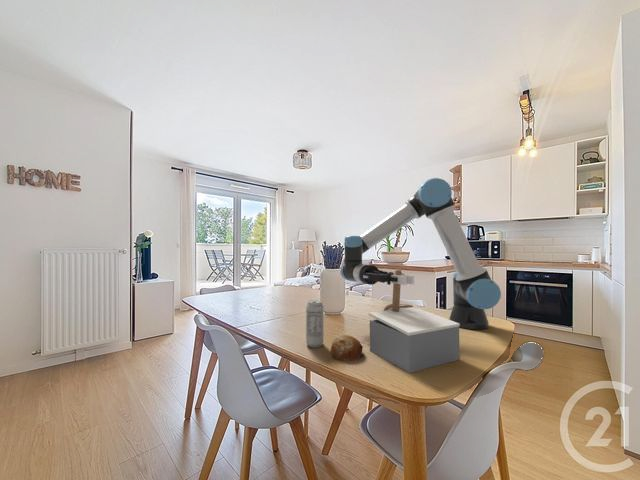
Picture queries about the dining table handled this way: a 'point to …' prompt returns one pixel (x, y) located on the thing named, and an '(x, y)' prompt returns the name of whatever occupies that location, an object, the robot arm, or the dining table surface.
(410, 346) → the carton
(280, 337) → the dining table surface
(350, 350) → the bread roll
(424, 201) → the robot arm
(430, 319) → the flap
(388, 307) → the tin
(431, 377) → the dining table surface
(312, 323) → the energy drink can
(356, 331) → the dining table surface
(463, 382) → the dining table surface
